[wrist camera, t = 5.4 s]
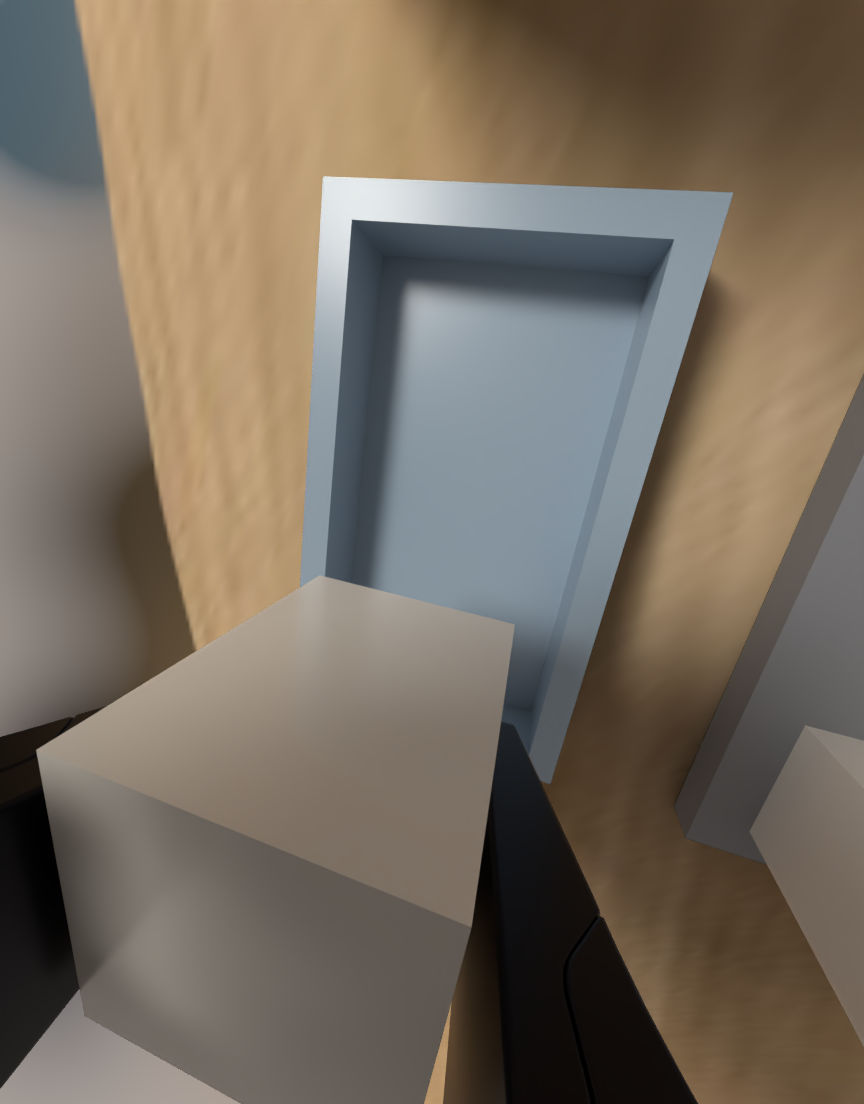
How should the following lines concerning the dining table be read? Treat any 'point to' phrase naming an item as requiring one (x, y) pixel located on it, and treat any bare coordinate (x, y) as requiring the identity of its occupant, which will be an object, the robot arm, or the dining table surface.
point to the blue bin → (497, 402)
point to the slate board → (790, 659)
